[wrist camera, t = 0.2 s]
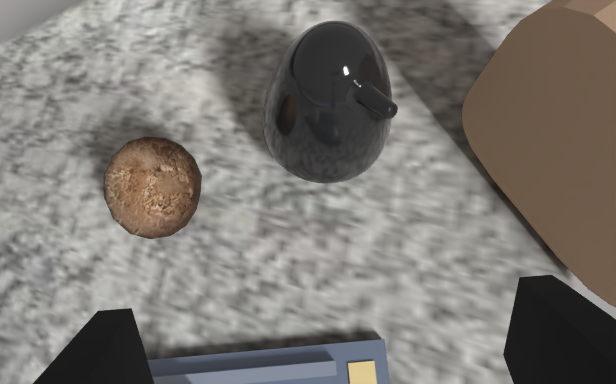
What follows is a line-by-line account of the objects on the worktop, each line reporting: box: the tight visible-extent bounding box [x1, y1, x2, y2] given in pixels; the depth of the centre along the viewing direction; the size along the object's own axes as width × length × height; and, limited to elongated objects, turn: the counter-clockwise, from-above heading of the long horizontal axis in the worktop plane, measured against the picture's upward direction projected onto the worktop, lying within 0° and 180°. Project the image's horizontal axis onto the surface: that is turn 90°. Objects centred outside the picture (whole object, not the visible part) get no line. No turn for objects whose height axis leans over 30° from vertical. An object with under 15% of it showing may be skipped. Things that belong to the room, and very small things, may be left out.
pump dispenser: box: [263, 21, 398, 183], centre depth 36 cm, size 10×10×15 cm
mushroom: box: [104, 137, 202, 239], centre depth 40 cm, size 8×8×6 cm
